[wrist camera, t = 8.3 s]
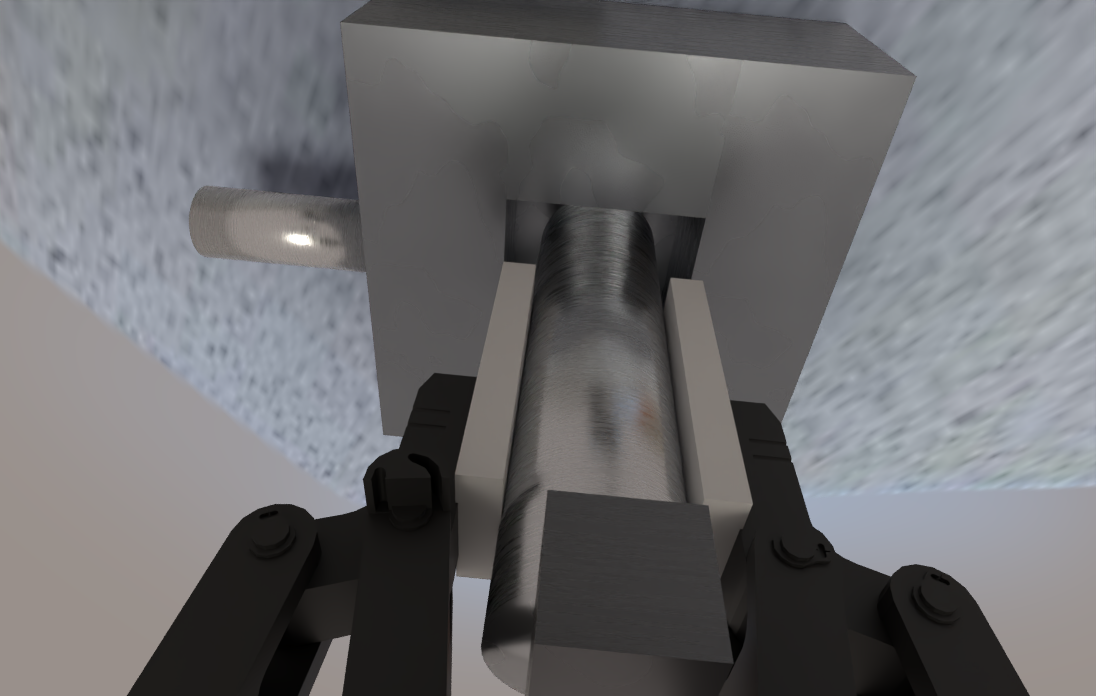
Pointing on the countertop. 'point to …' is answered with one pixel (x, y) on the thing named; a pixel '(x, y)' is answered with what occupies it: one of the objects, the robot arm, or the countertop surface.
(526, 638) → the chuck key
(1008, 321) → the countertop surface
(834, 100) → the block
